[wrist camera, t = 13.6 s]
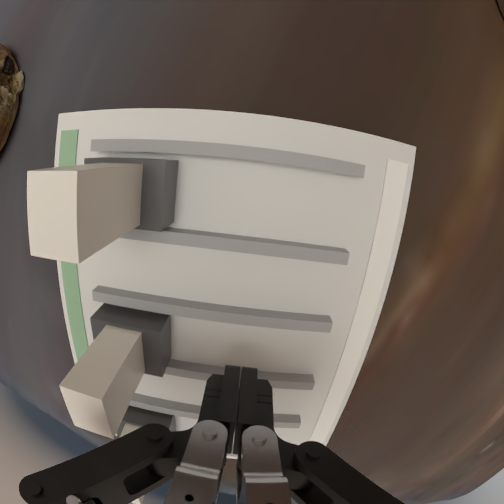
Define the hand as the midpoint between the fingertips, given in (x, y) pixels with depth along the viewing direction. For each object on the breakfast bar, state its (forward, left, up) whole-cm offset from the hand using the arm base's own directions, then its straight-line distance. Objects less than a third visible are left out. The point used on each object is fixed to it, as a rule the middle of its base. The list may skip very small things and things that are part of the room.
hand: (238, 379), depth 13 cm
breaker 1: (+6, -8, -3) cm, 10 cm away
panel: (+2, 0, -5) cm, 5 cm away
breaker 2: (+6, 0, -3) cm, 7 cm away
